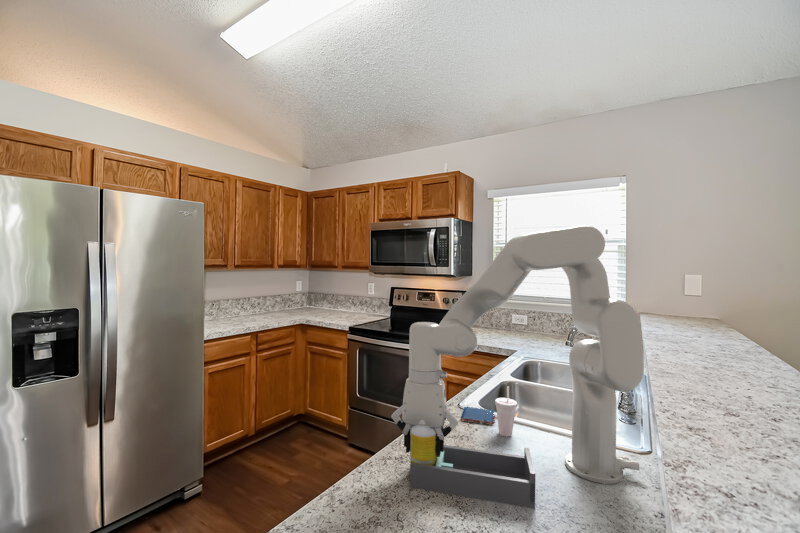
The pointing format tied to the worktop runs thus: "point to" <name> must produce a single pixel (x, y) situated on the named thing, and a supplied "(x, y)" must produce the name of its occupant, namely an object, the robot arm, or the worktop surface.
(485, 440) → the worktop surface
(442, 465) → the pusher paddle
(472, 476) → the tray
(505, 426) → the smoothie
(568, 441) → the worktop surface
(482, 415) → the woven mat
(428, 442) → the pill bottle
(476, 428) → the worktop surface
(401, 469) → the worktop surface
